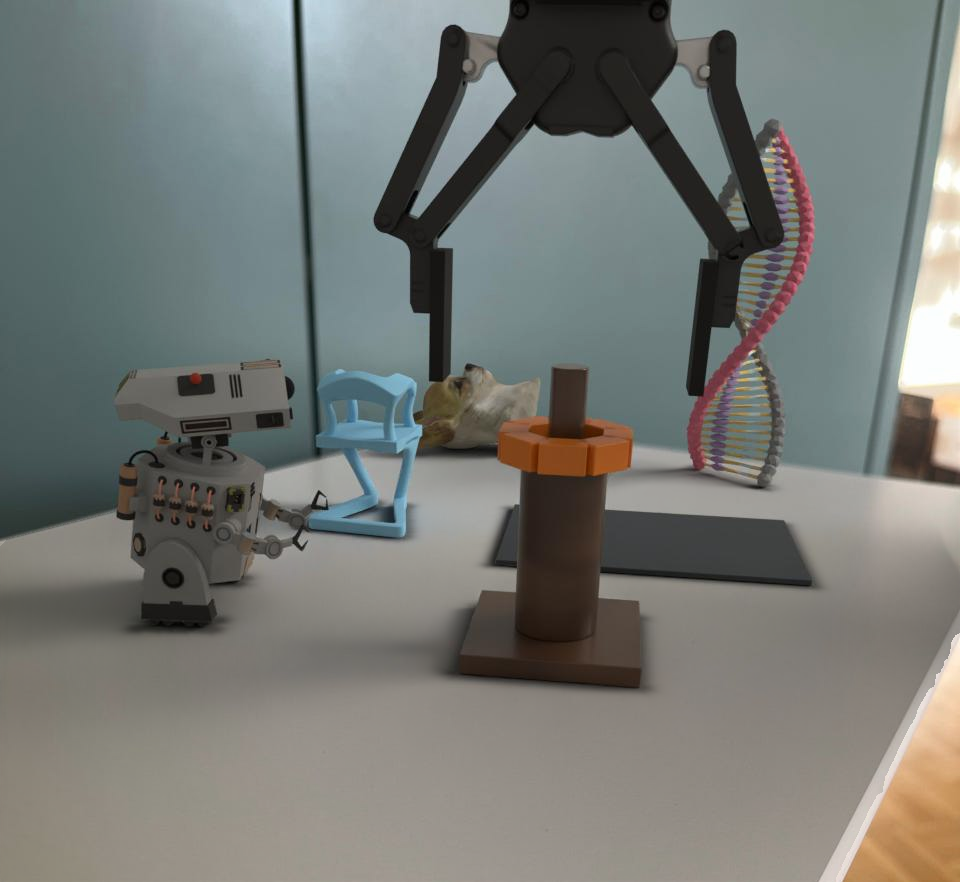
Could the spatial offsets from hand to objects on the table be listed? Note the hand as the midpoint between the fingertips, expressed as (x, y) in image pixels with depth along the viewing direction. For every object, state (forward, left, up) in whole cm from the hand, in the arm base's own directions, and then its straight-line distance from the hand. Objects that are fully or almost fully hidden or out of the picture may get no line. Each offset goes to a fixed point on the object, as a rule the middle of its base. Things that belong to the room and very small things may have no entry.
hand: (565, 385), depth 55 cm
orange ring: (0, 0, -4) cm, 4 cm away
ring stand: (0, 0, -15) cm, 15 cm away
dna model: (-14, -41, -15) cm, 46 cm away
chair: (+16, -22, -15) cm, 31 cm away
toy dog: (+12, -47, -15) cm, 51 cm away
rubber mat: (-6, -20, -15) cm, 26 cm away
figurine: (+21, -3, -15) cm, 26 cm away
